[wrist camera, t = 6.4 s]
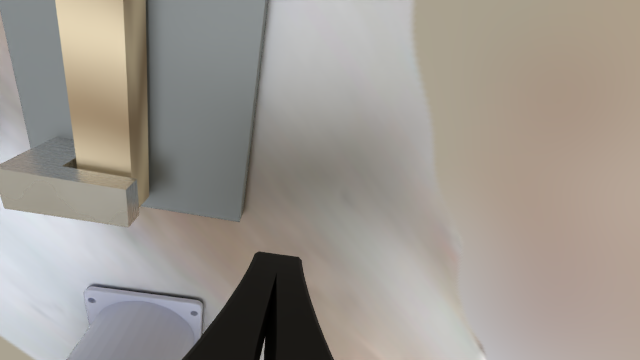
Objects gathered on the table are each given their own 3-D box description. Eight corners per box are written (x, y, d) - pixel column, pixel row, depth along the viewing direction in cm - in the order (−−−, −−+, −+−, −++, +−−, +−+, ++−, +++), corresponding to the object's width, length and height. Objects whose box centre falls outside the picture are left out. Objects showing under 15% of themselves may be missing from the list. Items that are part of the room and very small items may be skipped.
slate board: (242, 212, 20) (239, 221, 19) (52, 181, 19) (40, 190, 18) (275, -60, 14) (272, -64, 13) (-10, -134, 12) (-35, -145, 11)
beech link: (67, -103, 12) (-17, -142, 9) (152, -80, 12) (99, -109, 9) (97, 186, 17) (52, 224, 14) (154, 197, 18) (122, 235, 15)
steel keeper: (162, 187, 18) (128, 227, 15) (62, 170, 17) (4, 208, 14) (161, 155, 17) (125, 189, 14) (56, 136, 16) (-8, 167, 13)
